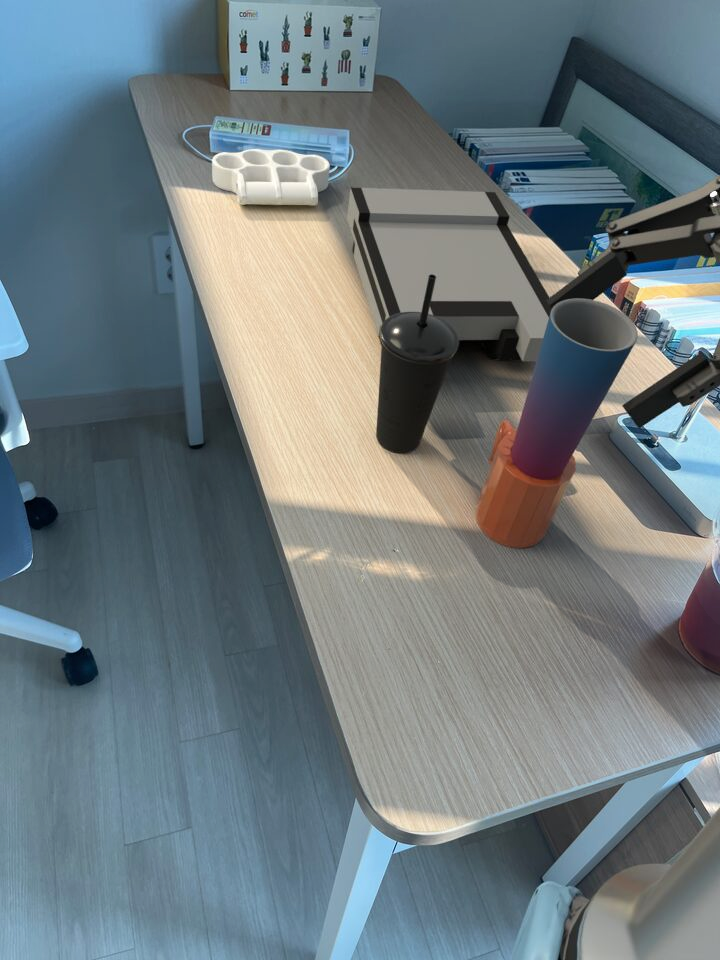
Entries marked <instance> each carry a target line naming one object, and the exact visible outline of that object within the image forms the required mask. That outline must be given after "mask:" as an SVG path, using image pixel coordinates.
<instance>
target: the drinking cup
mask: <svg viewBox="0 0 720 960" xmlns="http://www.w3.org/2000/svg"><path fill="white" fill-rule="evenodd" d="M435 281H436V276H435V275H432V274H431V275H429V277H428V282H427V287H426V292H425V296H424V301H423V306H422V311H421V312H401V313H397V314H394V315H392V316H390V317H388V318H387V319H386V320H385V321H384V322H383V324H382V325H381V328H380V339H381V341H382V346H381V351H380V366H379V380H378V381H379V383H378V401H377V413H376V415H377V417H376V430H375V432H376V433H375V436H376V441H377V442H378V443H379V445H380V446H381V447H382V448H384V449H385V450H387V451H388V452H392V453H395V454H408V453H411V452H413V451H415V450H416V449H417V448H418V447H419V446H420V443H421V441H422V438H423V436H424V433H425V430H426V428H427V426H428V422H429V419H430V417H431V414H432V411H433V408H434V406H435V404H436V401H437V399H438V395H439V393H440V390H441V386H442V385H443V382H444V379H445V376H446V375H447V371H448V368H449V366H450V363H451V361H452V358H453V357H454V355H455V354H456V353H457V352H458V349H459V346H460V340H459V337H458V334H457V332H456V331H455V329H454V328H453V327H452V326H451V325H450V324H449V323H447V322H446V321H444V320H443V319H441V318H439V317H436V316H434V315H431V314H428V313H429V308H430V303H431V299H432V294H433V290H434V285H435Z"/></svg>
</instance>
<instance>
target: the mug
mask: <svg viewBox="0 0 720 960" xmlns="http://www.w3.org/2000/svg"><path fill="white" fill-rule="evenodd" d="M516 432H517V429H516V427H515V426H514V424H513V422H512V421H511V420H510V419H503V420H502V421H501V422H500V424H499V427H498V430H497V432H496V435H495V437H494V438H495V439H494V442H493V444H492V447H491V451H490V453H489V456H488V460H487V462H488V466H489V470H488V472H487V475H486V479H485V481H484V484H483V487H482V489H481V492H480V494H479V498H478V500H477V505H476V507H475V508H476V509H475V519H476V522H477V524H478V526H479V528H480V529H481V531H482V532H483V533H484V535H486V536H487V537H488V538H489V539H491V540H492V541H494V542H495V543H497V544H500V545H502V546H505V547H507V548H508V547H509V548H515V549H525V548H529V547H533V546H535V545H536V544H538V543H539V542H541V541H542V540H543V538H544V537H545V535H546V533H547V531H548V529H549V528H550V525H551V523H552V522H553V519H554V517H555V515H556V512H557V510H558V509H559V506H560V504H561V502H562V500H563V497H564V495H565V493H566V492H567V490H568V487H569V486H570V483H571V481H572V479H573V477H574V475H575V473H576V470H577V469H576V468H577V467H576V459H575V456H574V454H573V455H572V457H571V458H570V460H569V462H568V464H567V465H566V467H565V469H564V471H563V472H562V473H561V474H560V475H559V476H558V477H555V478H552V479H537V478H533V477H531V476H528V475H526V474H525V473H523V472H522V471H520V470H519V469H518V468H517V467H516V466H515V464H514V463H513V461H512V459H511V450H512V446H513V443H514V439H515V436H516Z"/></svg>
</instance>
